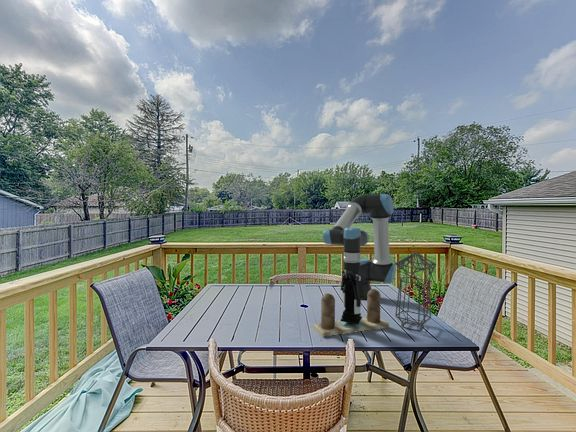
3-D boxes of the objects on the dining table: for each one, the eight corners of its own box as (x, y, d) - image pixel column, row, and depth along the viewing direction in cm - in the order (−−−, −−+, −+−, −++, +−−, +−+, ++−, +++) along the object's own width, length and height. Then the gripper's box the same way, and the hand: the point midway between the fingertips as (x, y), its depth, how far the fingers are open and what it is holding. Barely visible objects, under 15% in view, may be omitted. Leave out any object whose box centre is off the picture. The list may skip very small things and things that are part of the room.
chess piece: (361, 318, 141) (362, 275, 141) (358, 324, 134) (358, 279, 134) (345, 315, 145) (345, 274, 144) (340, 321, 137) (340, 277, 137)
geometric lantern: (401, 318, 152) (404, 249, 152) (435, 326, 142) (438, 252, 142) (390, 327, 140) (392, 252, 139) (425, 337, 130) (429, 256, 129)
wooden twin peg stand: (375, 319, 150) (375, 285, 150) (389, 327, 140) (390, 291, 139) (312, 328, 139) (312, 291, 139) (323, 337, 128) (323, 298, 128)
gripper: (333, 258, 148) (333, 303, 148) (357, 266, 127) (357, 319, 128) (346, 257, 150) (346, 302, 151) (372, 264, 130) (372, 317, 130)
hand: (351, 310), depth 139 cm, fingers closed on chess piece, 9 cm apart
